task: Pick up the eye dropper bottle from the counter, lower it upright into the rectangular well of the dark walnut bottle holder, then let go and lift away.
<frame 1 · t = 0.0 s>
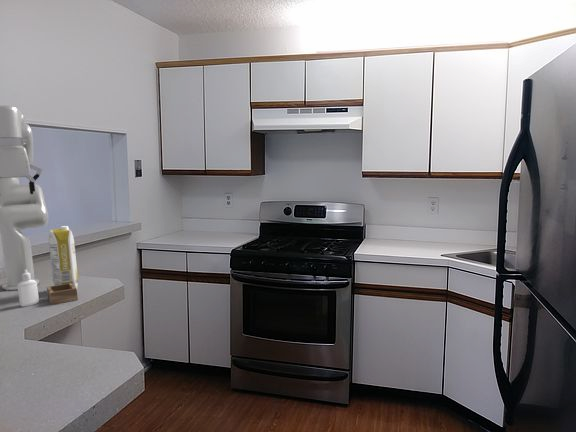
hand: (15, 195, 156), 37 cm above the countertop, tool pointing down, fingers open, 9 cm apart
eye dropper bottle: (29, 305, 155), on the countertop
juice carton: (66, 291, 171), on the countertop
bottle holder: (62, 298, 160), on the countertop
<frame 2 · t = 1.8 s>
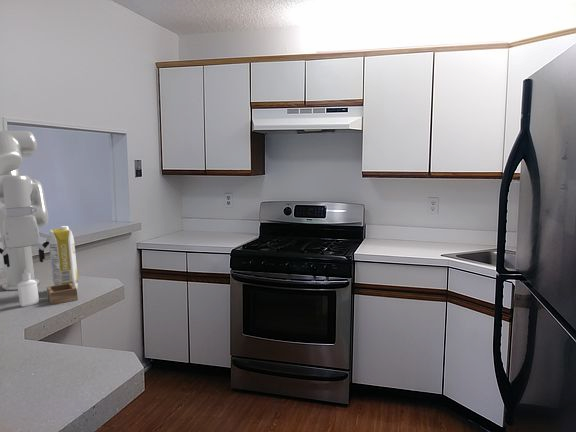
hand: (25, 264, 153), 14 cm above the countertop, tool pointing down, fingers open, 9 cm apart
nothing on the countertop moved.
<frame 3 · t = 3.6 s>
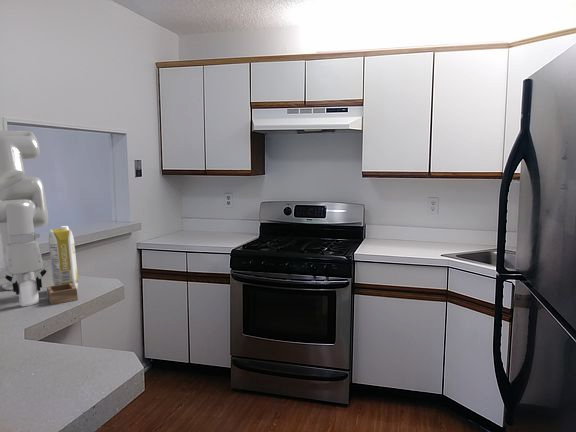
hand: (28, 291, 155), 5 cm above the countertop, tool pointing down, fingers closed on eye dropper bottle, 5 cm apart
eye dropper bottle: (29, 304, 155), on the countertop, touching gripper
everything else where it was.
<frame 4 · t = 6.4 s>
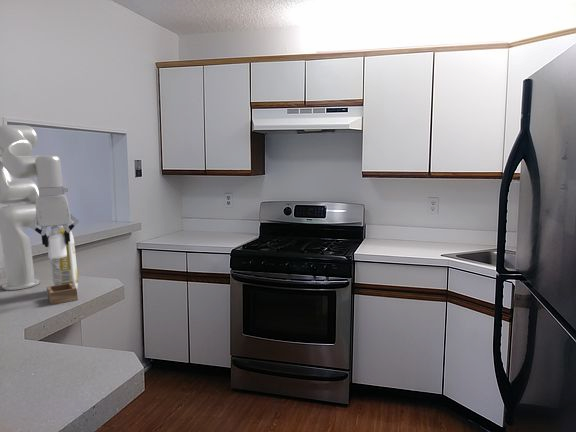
hand: (56, 244, 158), 19 cm above the countertop, tool pointing down, fingers closed on eye dropper bottle, 5 cm apart
eye dropper bottle: (58, 258, 158), point 14 cm above the countertop, touching gripper
everything else where it was.
when the fingers open (7 cm above the countertop, at t = 9.4 s): eye dropper bottle drops 1 cm, resting on bottle holder.
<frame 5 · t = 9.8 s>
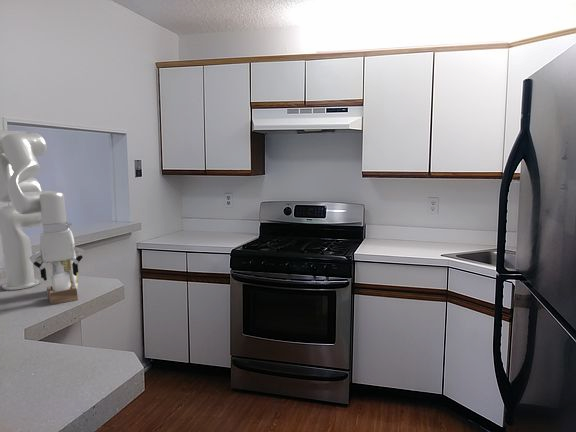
hand: (60, 277, 159), 8 cm above the countertop, tool pointing down, fingers open, 9 cm apart
eye dropper bottle: (62, 296, 160), point 1 cm above the countertop, touching bottle holder
everything else where it was.
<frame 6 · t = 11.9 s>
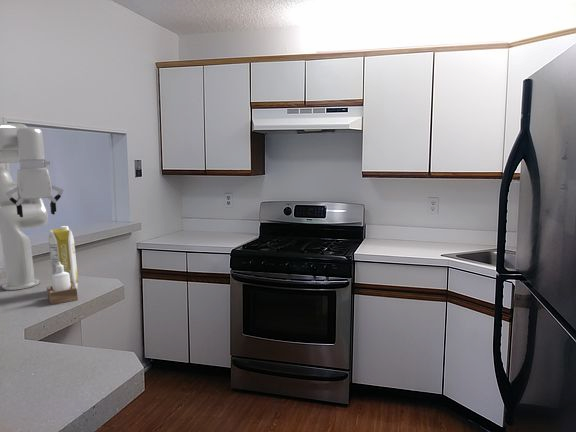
hand: (37, 215, 158), 29 cm above the countertop, tool pointing down, fingers open, 9 cm apart
nothing on the countertop moved.
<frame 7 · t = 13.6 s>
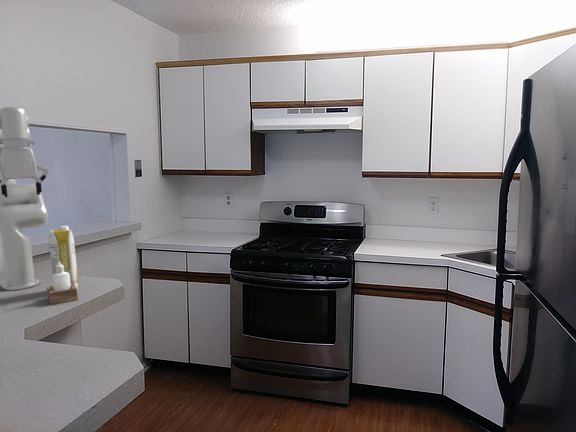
hand: (22, 195, 157), 36 cm above the countertop, tool pointing down, fingers open, 9 cm apart
nothing on the countertop moved.
at the end: eye dropper bottle 0.1 cm off-centre on the bottle holder, point 0.9 cm above the bottle holder's base; eye dropper bottle tilted 0°; the gripper is holding nothing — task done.
